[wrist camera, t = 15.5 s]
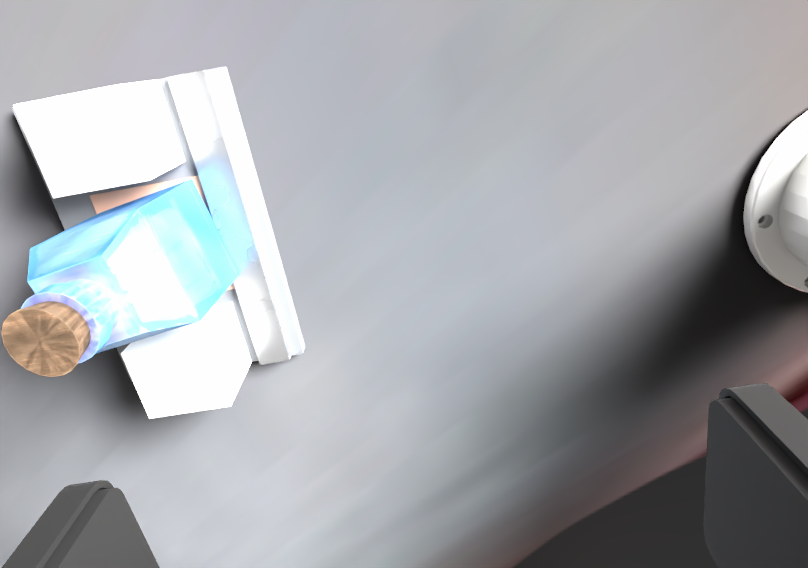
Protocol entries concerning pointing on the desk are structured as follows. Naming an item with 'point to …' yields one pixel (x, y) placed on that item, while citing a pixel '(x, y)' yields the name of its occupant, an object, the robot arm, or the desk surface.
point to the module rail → (156, 170)
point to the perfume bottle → (119, 280)
